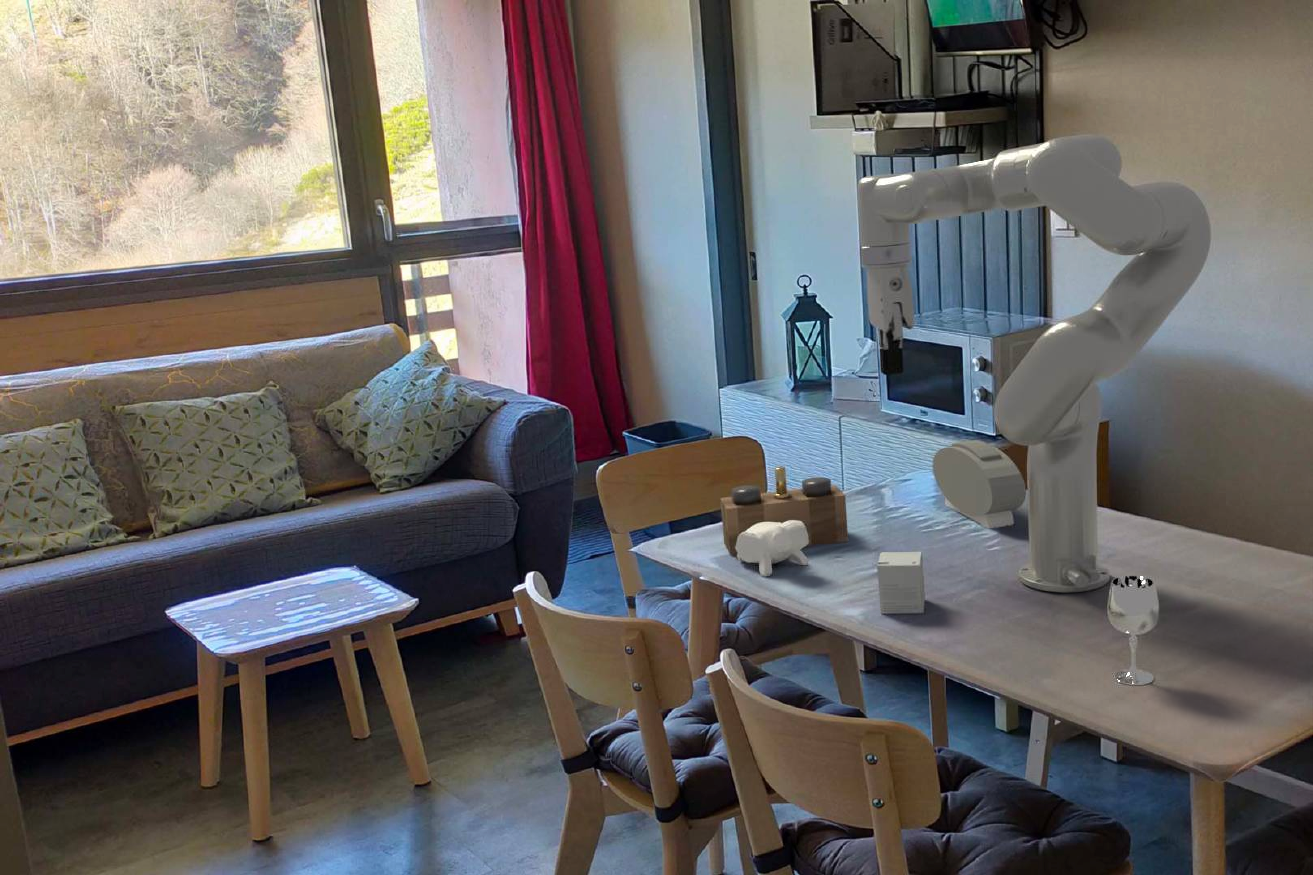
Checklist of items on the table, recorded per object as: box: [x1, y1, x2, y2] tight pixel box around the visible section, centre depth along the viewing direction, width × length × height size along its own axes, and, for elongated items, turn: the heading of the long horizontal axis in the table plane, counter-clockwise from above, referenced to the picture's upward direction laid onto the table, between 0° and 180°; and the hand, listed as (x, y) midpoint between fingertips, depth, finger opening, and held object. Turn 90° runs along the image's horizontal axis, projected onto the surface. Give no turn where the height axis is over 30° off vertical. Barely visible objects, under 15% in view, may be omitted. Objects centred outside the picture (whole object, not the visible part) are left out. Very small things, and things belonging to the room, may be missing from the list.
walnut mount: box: [719, 484, 849, 556], centre depth 216 cm, size 7×20×8 cm, turn 95°
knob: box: [801, 476, 832, 497], centre depth 216 cm, size 5×5×9 cm
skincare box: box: [876, 551, 926, 615], centre depth 182 cm, size 6×6×7 cm
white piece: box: [735, 520, 810, 578], centre depth 204 cm, size 9×8×15 cm
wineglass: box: [1106, 575, 1160, 686], centre depth 151 cm, size 6×6×12 cm
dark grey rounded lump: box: [731, 485, 762, 505], centre depth 215 cm, size 5×5×9 cm
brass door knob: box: [773, 466, 791, 499], centre depth 214 cm, size 3×3×5 cm
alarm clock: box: [932, 439, 1027, 530], centre depth 221 cm, size 23×6×13 cm, turn 12°
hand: (892, 373), depth 201 cm, fingers closed
